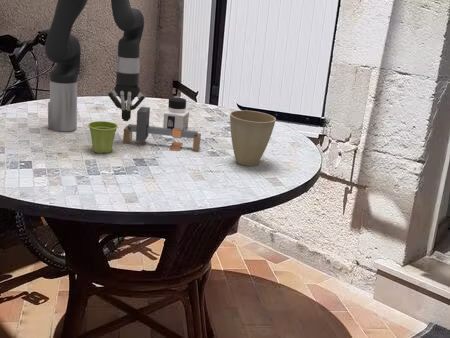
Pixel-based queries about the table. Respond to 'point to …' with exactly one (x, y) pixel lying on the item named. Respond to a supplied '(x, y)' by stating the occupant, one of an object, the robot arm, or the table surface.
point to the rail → (165, 131)
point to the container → (176, 114)
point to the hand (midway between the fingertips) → (126, 120)
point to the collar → (142, 123)
